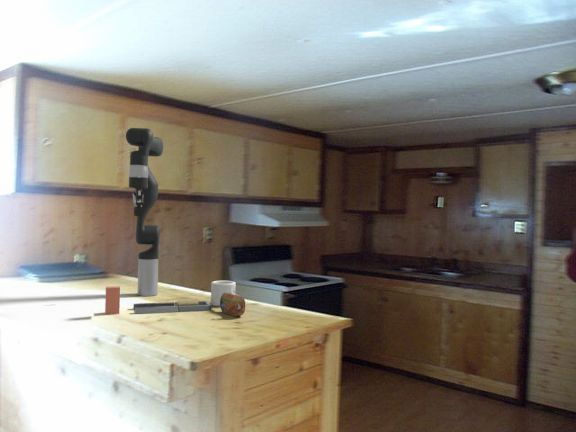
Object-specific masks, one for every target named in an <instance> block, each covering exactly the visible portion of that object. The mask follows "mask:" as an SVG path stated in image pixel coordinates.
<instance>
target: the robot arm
mask: <svg viewBox="0 0 576 432" xmlns="http://www.w3.org/2000/svg"><path fill="white" fill-rule="evenodd" d="M125 139H126V142H127V143H128V144H129V145H130V146H135V147H138V149H137V150H133V151H131V152H130V154H129V155H130V156H129V158H130V160H129V170H128V188H129V189H134V191H133V193H132V202H133V203H132V204H133V207H134V208H133V216H135V217H137V219H136V226H135V227H136V229H135V241H136V244H137V245H151V247H150V248H148V249H145V250H142V251H141V252H139V253H138V262H137V263H138V265H137V296H141V297H151V296H156V295H158V285H159V254H160V253H159V251H160V250H159V249H160V248H159V247H160V238H161V237H160V235H161V232H160V231H161V230H160V227H159V225H155V224H154V225H152V224H151V225H149V224H147V225H146V224H145V220H146V217H147V215H148V214H149V212H150V211H151V210H152V208H153V207H154V205H155V204H156V202H157V200H158V198H159V197H158V196H159V183H158V180H157V178H156V177H155V176H154V174H153V173H152V172H153V171H152V170H151V169H150V166H149V157H154V158H155V157H161V156H162V154H163V152H164V142H163V139H162V138H160V137H158V136H154V133H153V130H151V129H150V128H145V127H143V128H142V127H130V128H129V129H127V131H126V133H125ZM144 224H145V225H144Z"/></svg>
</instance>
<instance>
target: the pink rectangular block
mask: <svg viewBox="0 0 576 432" xmlns="http://www.w3.org/2000/svg"><path fill="white" fill-rule="evenodd" d="M120 295H121V286H120V285H119V286H118V285H116V286H114V285H113V286H111V285H110V286H105V302H104V305H105V306H104V307H105V308H104V309H105V310H104V314H105V315H106V316H107V315H120V306H121V305H120V300H121V299H120V298H121V296H120Z"/></svg>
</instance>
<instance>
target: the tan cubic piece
mask: <svg viewBox="0 0 576 432" xmlns="http://www.w3.org/2000/svg"><path fill="white" fill-rule="evenodd" d="M176 302H177V307H178V306H188V304H189V301H188V300H187V298H184V299H183V298H182V299H176Z"/></svg>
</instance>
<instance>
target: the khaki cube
mask: <svg viewBox="0 0 576 432" xmlns="http://www.w3.org/2000/svg"><path fill="white" fill-rule="evenodd" d="M186 299H187V298H186ZM187 300H188V301H189V304H188V306H196V305H198V301H199V300H198V299H197V298H188V299H187Z"/></svg>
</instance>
